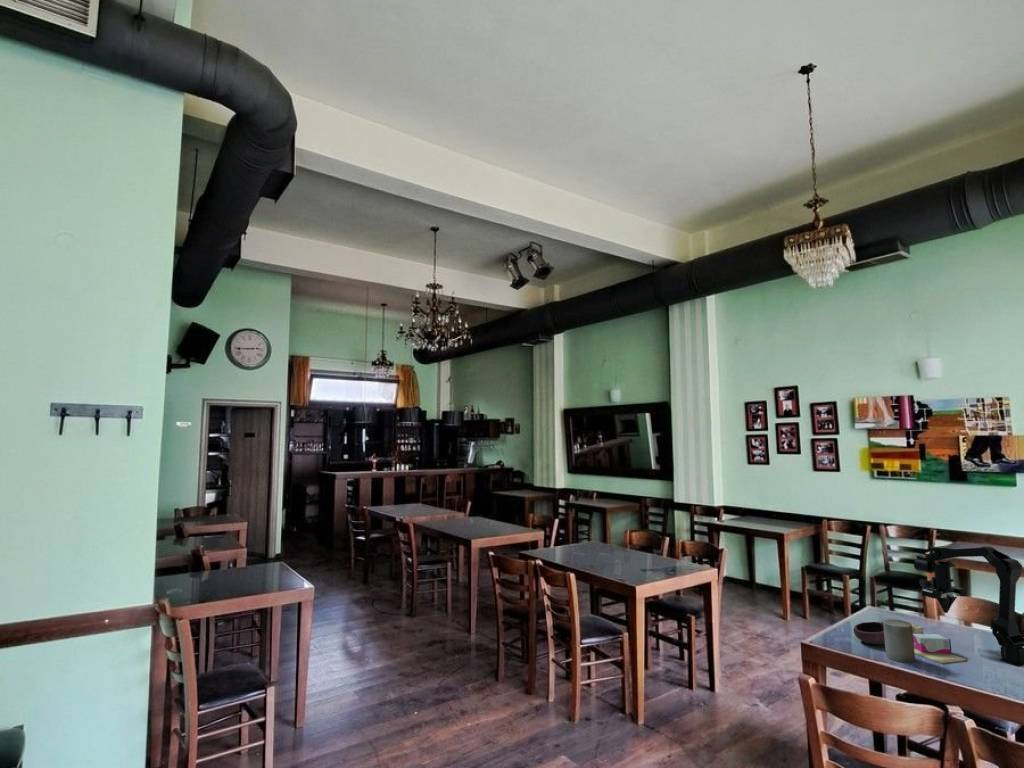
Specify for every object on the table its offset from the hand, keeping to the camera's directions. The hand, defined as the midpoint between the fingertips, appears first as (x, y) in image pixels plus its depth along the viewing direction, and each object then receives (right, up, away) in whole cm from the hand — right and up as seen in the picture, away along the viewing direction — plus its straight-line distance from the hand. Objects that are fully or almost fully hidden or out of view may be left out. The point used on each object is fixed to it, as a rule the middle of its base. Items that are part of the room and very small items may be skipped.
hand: (945, 612), depth 238 cm
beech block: (-17, -12, -6) cm, 22 cm away
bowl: (-33, -12, -2) cm, 35 cm away
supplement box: (-10, -8, -13) cm, 18 cm away
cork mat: (-17, -10, -16) cm, 26 cm away
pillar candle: (-33, -10, -19) cm, 40 cm away
